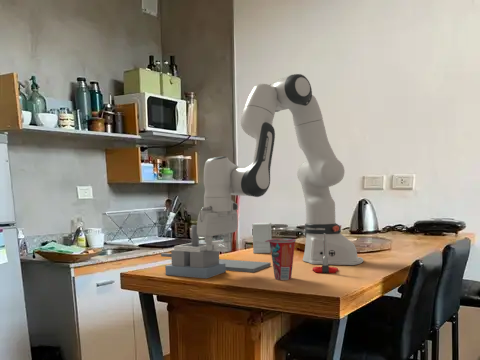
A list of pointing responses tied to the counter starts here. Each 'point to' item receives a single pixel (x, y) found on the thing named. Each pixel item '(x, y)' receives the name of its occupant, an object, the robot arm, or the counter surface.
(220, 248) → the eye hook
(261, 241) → the supplement box
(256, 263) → the mat
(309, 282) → the counter surface
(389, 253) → the counter surface
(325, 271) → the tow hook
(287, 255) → the cup
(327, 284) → the counter surface
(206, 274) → the vise
